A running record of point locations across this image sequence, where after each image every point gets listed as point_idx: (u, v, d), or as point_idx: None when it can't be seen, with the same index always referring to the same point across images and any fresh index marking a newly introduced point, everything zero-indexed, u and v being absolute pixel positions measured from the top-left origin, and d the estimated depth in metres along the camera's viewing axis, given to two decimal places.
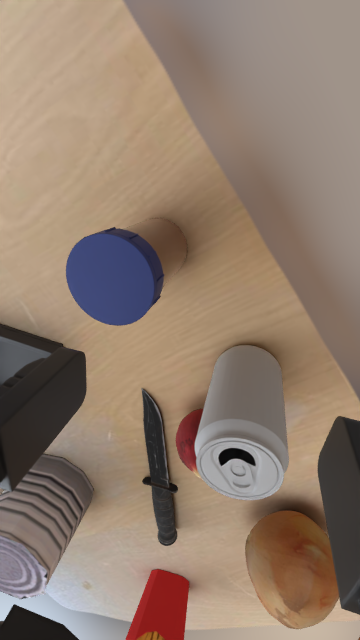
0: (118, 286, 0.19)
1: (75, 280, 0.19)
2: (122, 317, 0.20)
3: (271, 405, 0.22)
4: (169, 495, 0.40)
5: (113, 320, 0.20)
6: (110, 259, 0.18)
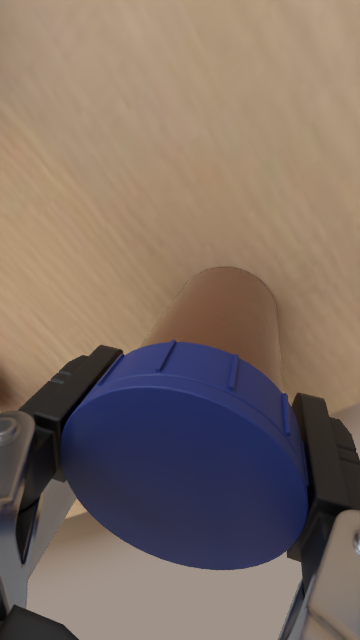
0: (166, 507, 0.07)
1: (159, 412, 0.06)
2: (90, 495, 0.08)
3: (31, 573, 0.15)
4: None
5: (75, 475, 0.08)
6: (235, 509, 0.07)
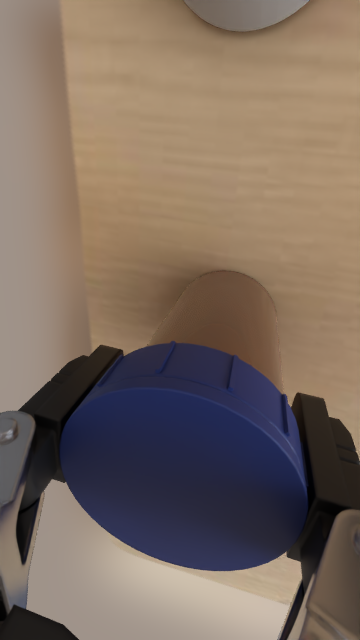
0: (166, 508, 0.07)
1: (158, 413, 0.06)
2: (90, 496, 0.08)
3: None
4: None
5: (74, 476, 0.08)
6: (235, 510, 0.07)
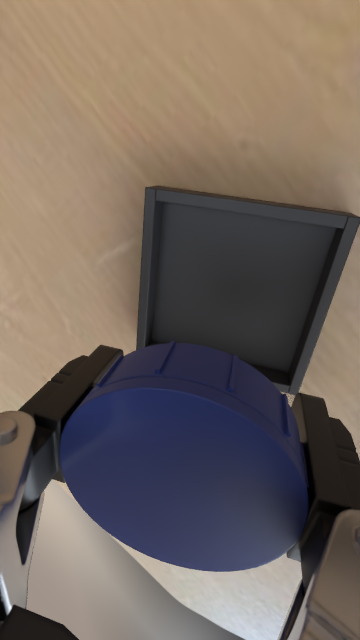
0: (166, 508, 0.07)
1: (158, 413, 0.06)
2: (90, 497, 0.08)
3: None
4: None
5: (74, 477, 0.08)
6: (235, 511, 0.07)
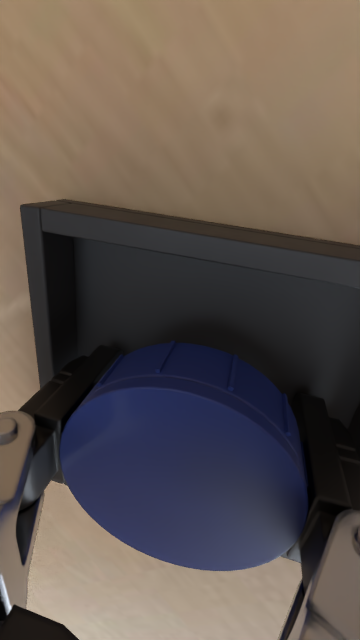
0: (166, 508, 0.07)
1: (159, 413, 0.06)
2: (90, 496, 0.08)
3: None
4: None
5: (75, 476, 0.08)
6: (235, 510, 0.07)
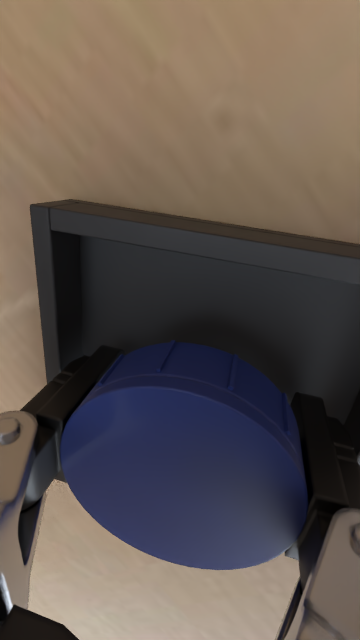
0: (166, 507, 0.07)
1: (159, 412, 0.06)
2: (90, 496, 0.08)
3: None
4: None
5: (75, 476, 0.08)
6: (235, 509, 0.07)
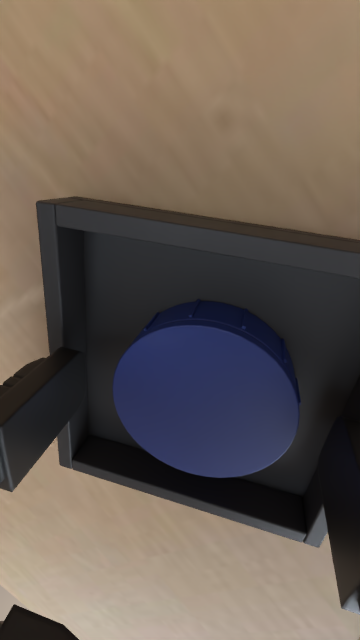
0: (193, 424, 0.10)
1: (192, 345, 0.09)
2: (134, 420, 0.10)
3: None
4: None
5: (123, 403, 0.10)
6: (246, 421, 0.09)
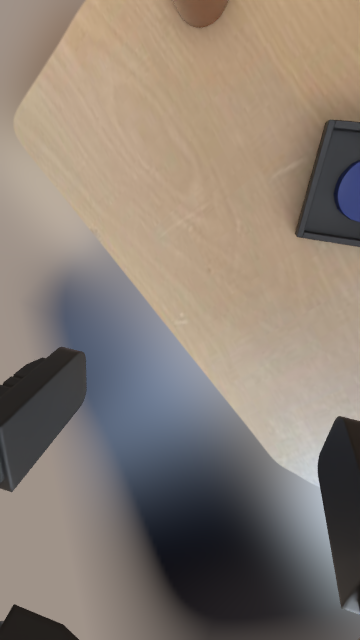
0: None
1: None
2: (344, 200, 0.30)
3: None
4: None
5: (341, 193, 0.30)
6: None
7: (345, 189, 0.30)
